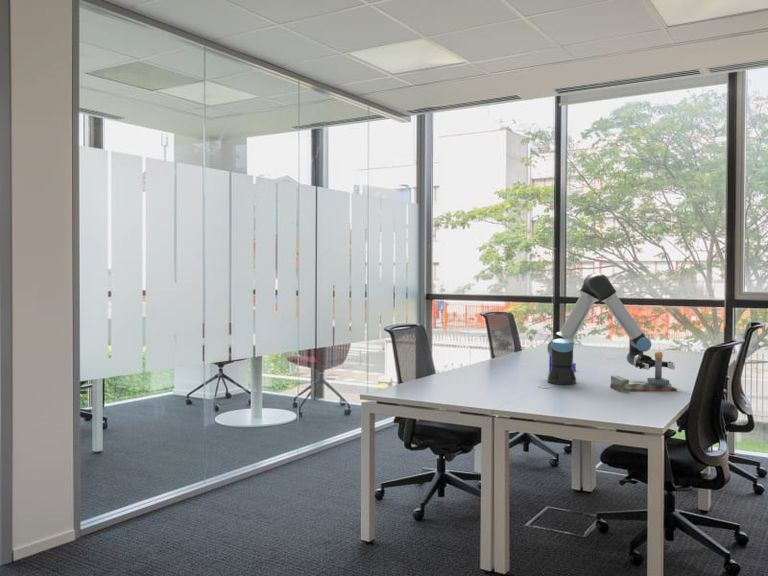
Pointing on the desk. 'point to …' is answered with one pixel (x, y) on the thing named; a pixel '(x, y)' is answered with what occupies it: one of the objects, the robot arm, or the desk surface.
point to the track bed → (636, 385)
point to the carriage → (658, 372)
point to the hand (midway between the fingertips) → (661, 367)
